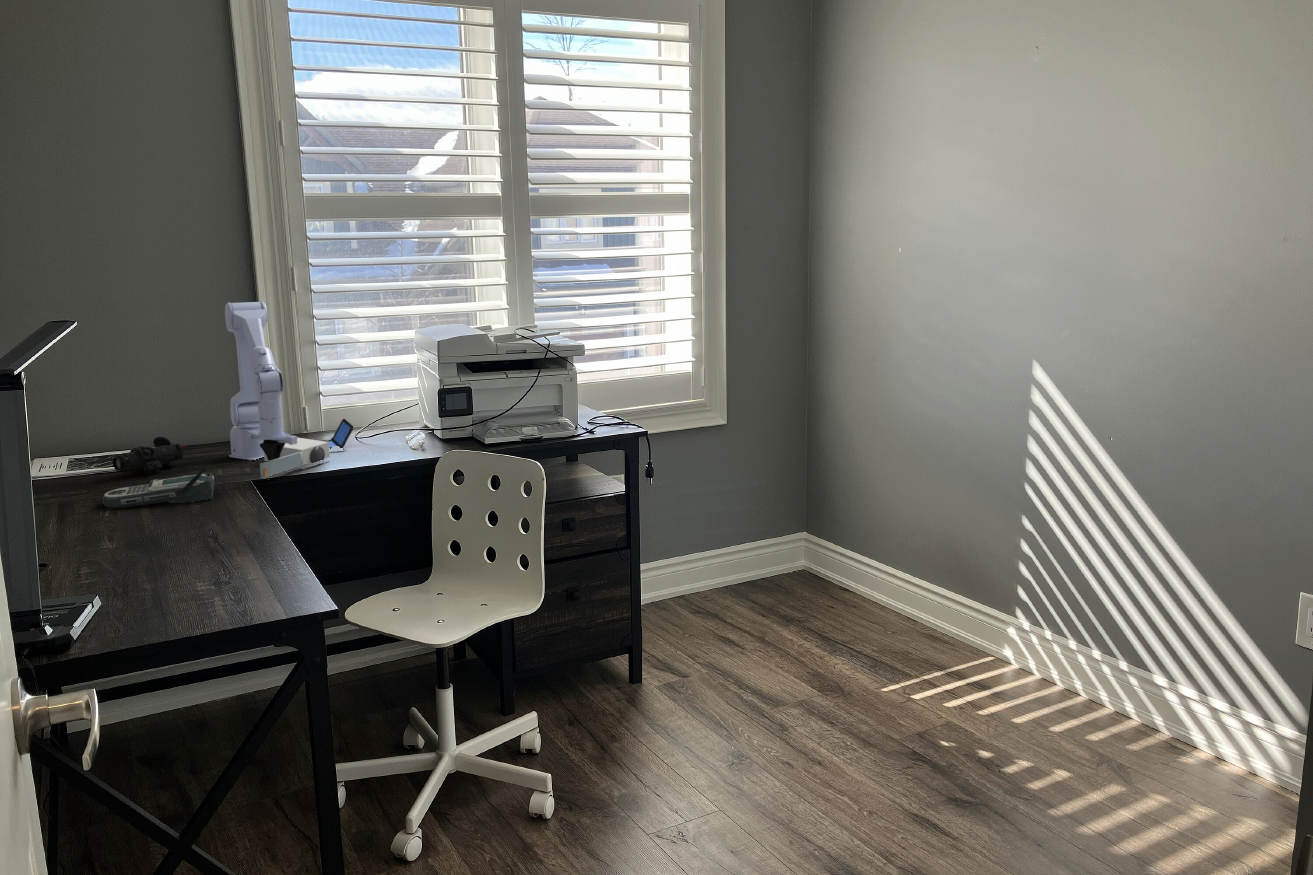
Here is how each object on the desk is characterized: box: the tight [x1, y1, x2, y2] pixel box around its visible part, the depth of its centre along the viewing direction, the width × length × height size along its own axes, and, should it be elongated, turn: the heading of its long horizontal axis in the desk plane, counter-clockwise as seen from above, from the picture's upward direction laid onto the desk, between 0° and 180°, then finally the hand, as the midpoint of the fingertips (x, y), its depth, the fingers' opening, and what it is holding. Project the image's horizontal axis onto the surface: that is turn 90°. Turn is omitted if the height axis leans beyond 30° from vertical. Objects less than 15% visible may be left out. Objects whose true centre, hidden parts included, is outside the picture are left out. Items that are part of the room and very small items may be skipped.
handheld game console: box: [321, 418, 354, 449], centre depth 287 cm, size 12×11×7 cm
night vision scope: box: [111, 436, 187, 476], centre depth 259 cm, size 8×18×10 cm
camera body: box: [263, 437, 331, 465], centre depth 270 cm, size 15×10×6 cm
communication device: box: [102, 467, 216, 509], centre depth 235 cm, size 12×24×9 cm, turn 111°
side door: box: [259, 452, 303, 479], centre depth 256 cm, size 14×2×4 cm, turn 156°
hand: (274, 468), depth 256 cm, fingers closed
